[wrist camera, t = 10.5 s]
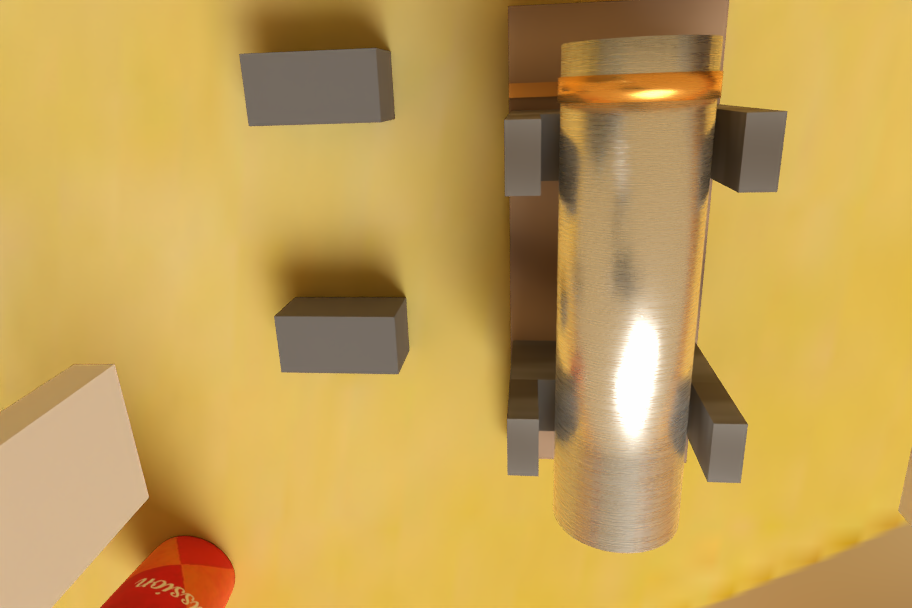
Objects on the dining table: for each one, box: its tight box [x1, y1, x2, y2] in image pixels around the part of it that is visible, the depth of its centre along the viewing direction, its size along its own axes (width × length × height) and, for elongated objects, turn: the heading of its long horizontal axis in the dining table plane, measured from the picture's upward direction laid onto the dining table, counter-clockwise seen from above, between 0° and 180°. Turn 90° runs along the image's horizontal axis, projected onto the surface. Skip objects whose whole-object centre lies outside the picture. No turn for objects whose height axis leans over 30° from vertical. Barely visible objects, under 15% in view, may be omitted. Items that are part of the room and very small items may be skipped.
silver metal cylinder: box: [553, 35, 723, 553], centre depth 24 cm, size 18×5×5 cm, turn 2°
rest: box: [239, 48, 409, 374], centre depth 31 cm, size 15×6×3 cm, turn 2°
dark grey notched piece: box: [504, 0, 787, 483], centre depth 27 cm, size 22×9×10 cm, turn 2°
